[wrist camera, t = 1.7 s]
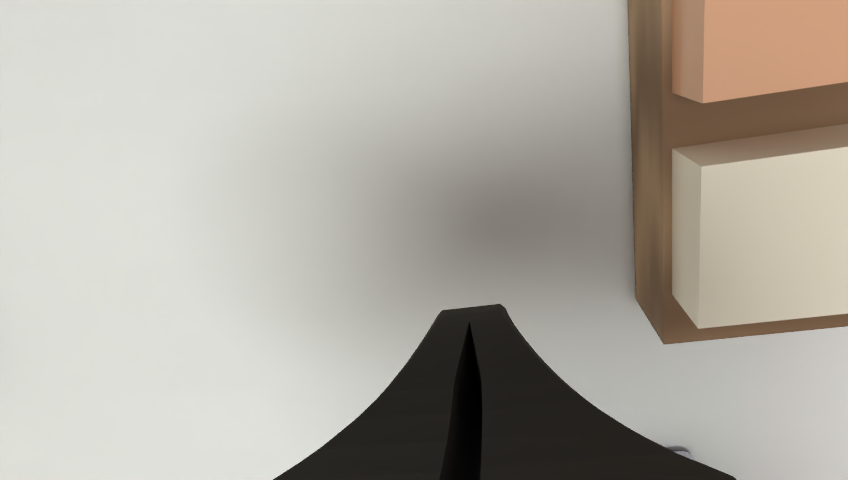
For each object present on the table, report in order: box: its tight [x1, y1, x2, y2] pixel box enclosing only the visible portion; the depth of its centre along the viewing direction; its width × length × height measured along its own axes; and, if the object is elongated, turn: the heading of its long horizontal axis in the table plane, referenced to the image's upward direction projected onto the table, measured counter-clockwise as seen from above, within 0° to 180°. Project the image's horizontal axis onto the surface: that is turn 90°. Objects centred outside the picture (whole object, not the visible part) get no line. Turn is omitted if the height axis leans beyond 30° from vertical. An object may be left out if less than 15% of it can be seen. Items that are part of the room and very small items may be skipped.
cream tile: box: [672, 124, 848, 329], centre depth 15 cm, size 4×4×2 cm
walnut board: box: [628, 0, 848, 344], centre depth 16 cm, size 14×9×3 cm, turn 9°
